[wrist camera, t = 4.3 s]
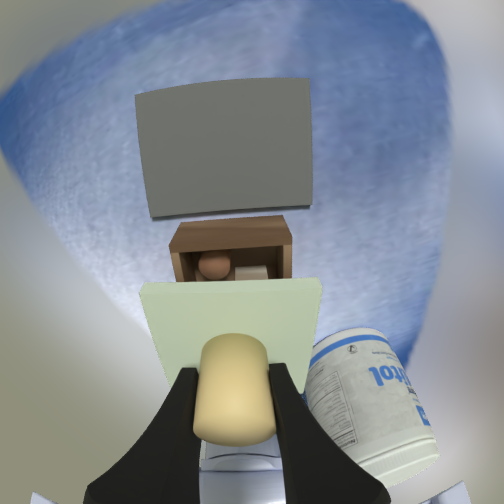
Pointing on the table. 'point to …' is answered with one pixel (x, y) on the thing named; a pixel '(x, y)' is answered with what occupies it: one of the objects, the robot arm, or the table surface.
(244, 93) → the mat
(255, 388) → the lid
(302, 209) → the table surface
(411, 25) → the table surface
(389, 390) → the supplement tub
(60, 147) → the table surface
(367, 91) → the table surface
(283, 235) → the box
